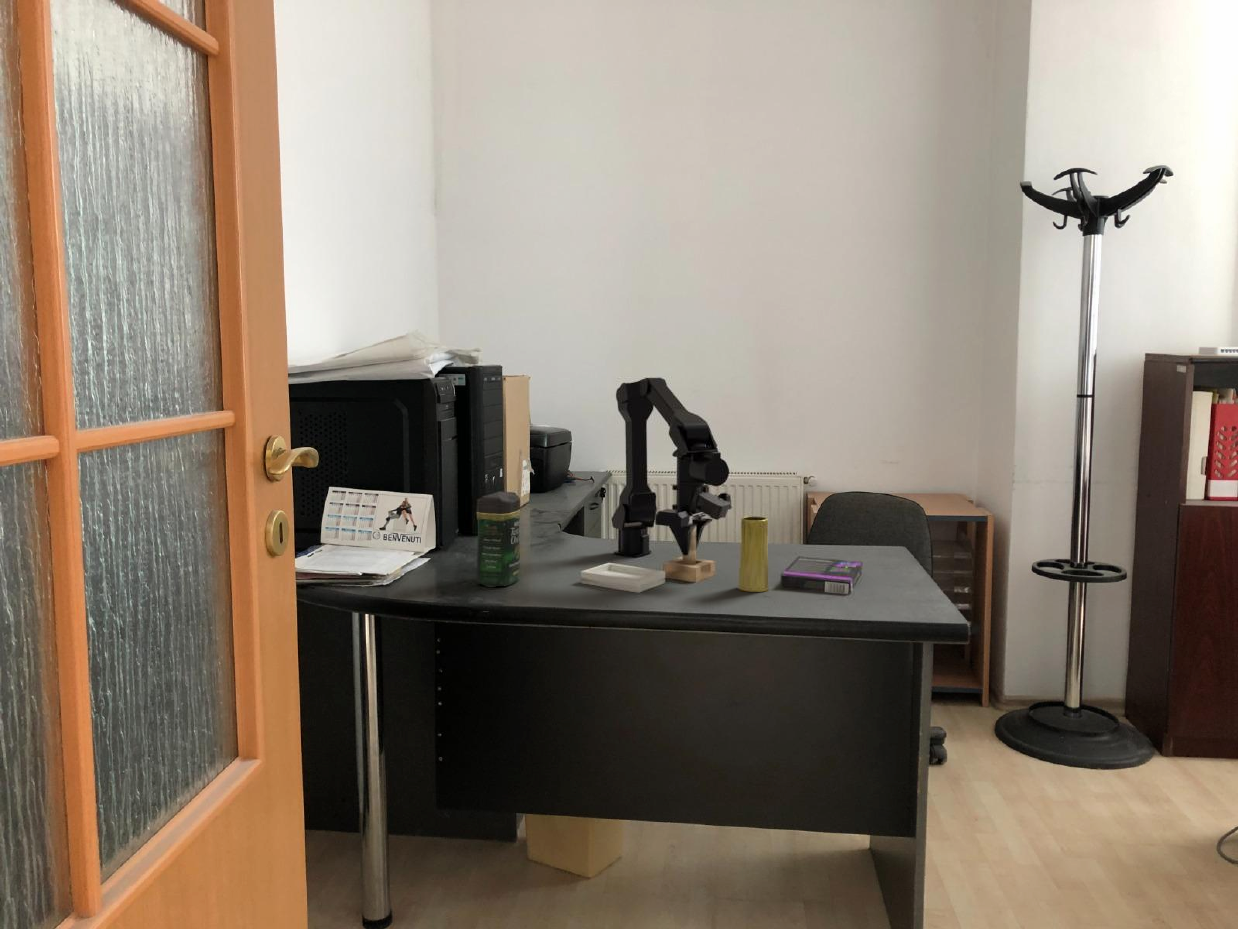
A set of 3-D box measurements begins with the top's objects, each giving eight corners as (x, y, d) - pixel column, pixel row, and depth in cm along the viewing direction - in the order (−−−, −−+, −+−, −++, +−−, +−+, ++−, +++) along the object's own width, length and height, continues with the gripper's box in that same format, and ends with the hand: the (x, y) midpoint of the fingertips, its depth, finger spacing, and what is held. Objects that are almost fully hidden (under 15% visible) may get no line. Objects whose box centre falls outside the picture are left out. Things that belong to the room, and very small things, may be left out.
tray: (580, 583, 202) (580, 571, 201) (608, 573, 210) (608, 562, 210) (638, 592, 194) (638, 580, 194) (665, 582, 202) (665, 571, 202)
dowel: (679, 573, 208) (680, 526, 206) (686, 570, 210) (687, 524, 209) (691, 574, 206) (692, 527, 205) (698, 572, 208) (698, 525, 207)
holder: (662, 577, 207) (662, 563, 207) (682, 570, 214) (682, 556, 213) (696, 582, 203) (696, 568, 202) (714, 575, 209) (715, 561, 209)
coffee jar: (507, 589, 196) (507, 496, 194) (471, 586, 199) (470, 495, 196) (526, 578, 205) (525, 490, 203) (491, 575, 208) (490, 488, 206)
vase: (732, 586, 199) (733, 516, 198) (759, 584, 202) (761, 515, 200) (746, 593, 194) (748, 521, 192) (774, 591, 196) (776, 520, 194)
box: (849, 599, 194) (863, 575, 212) (850, 581, 193) (863, 559, 211) (779, 591, 199) (798, 569, 217) (779, 574, 198) (798, 553, 216)
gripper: (702, 488, 193) (700, 567, 195) (745, 478, 209) (744, 551, 211) (653, 484, 200) (653, 559, 202) (699, 474, 215) (698, 544, 217)
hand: (689, 553), depth 208 cm, fingers closed on dowel, 3 cm apart
